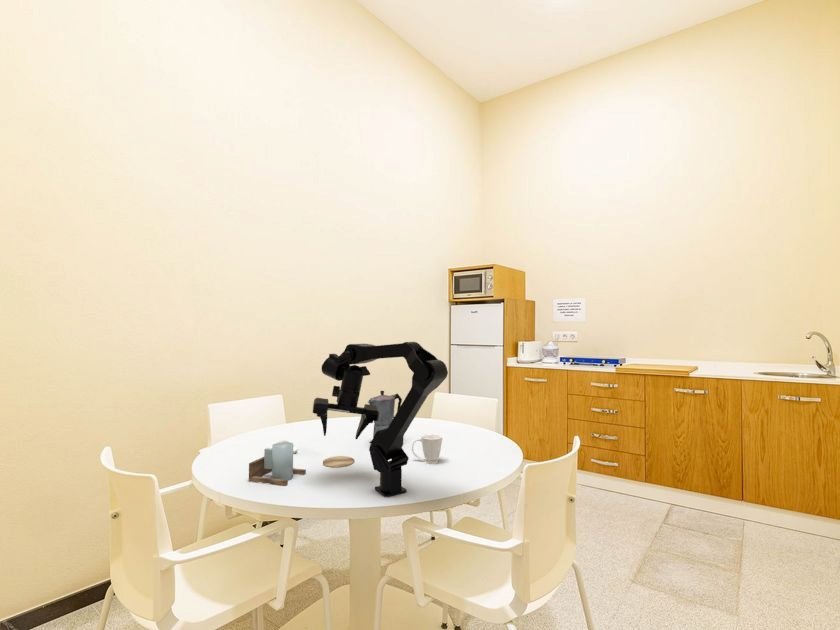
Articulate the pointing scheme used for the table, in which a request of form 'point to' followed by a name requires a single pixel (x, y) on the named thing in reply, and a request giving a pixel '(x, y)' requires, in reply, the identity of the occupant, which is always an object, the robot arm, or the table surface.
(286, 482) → the dock
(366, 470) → the table surface
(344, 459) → the coaster
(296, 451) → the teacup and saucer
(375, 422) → the moka pot
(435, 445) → the cup
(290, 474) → the jug
